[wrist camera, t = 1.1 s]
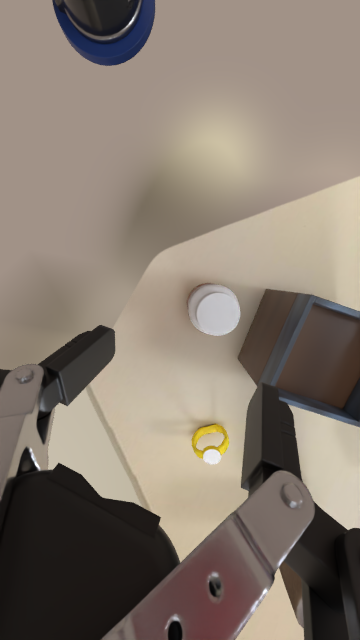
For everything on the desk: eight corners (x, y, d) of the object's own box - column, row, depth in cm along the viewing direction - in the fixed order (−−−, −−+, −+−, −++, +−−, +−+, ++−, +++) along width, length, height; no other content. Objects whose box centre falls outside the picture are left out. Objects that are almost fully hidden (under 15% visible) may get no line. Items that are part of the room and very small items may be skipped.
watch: (222, 417, 37) (229, 443, 31) (226, 430, 37) (234, 458, 31) (189, 427, 37) (191, 454, 31) (194, 439, 38) (196, 469, 32)
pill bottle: (228, 319, 33) (250, 339, 22) (189, 324, 34) (193, 346, 23) (224, 280, 32) (245, 281, 21) (184, 285, 32) (185, 289, 22)
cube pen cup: (237, 358, 35) (264, 397, 23) (266, 288, 32) (311, 294, 21) (303, 380, 35) (361, 428, 24) (336, 313, 33) (417, 331, 22)
